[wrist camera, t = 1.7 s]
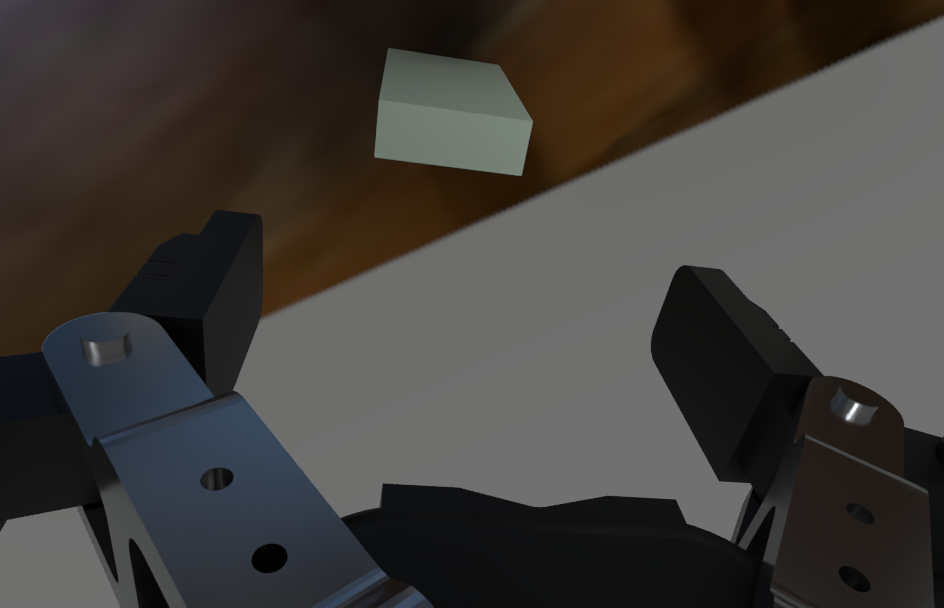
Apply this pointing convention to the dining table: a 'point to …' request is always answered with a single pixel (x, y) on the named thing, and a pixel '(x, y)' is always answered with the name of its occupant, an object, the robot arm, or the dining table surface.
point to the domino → (450, 114)
